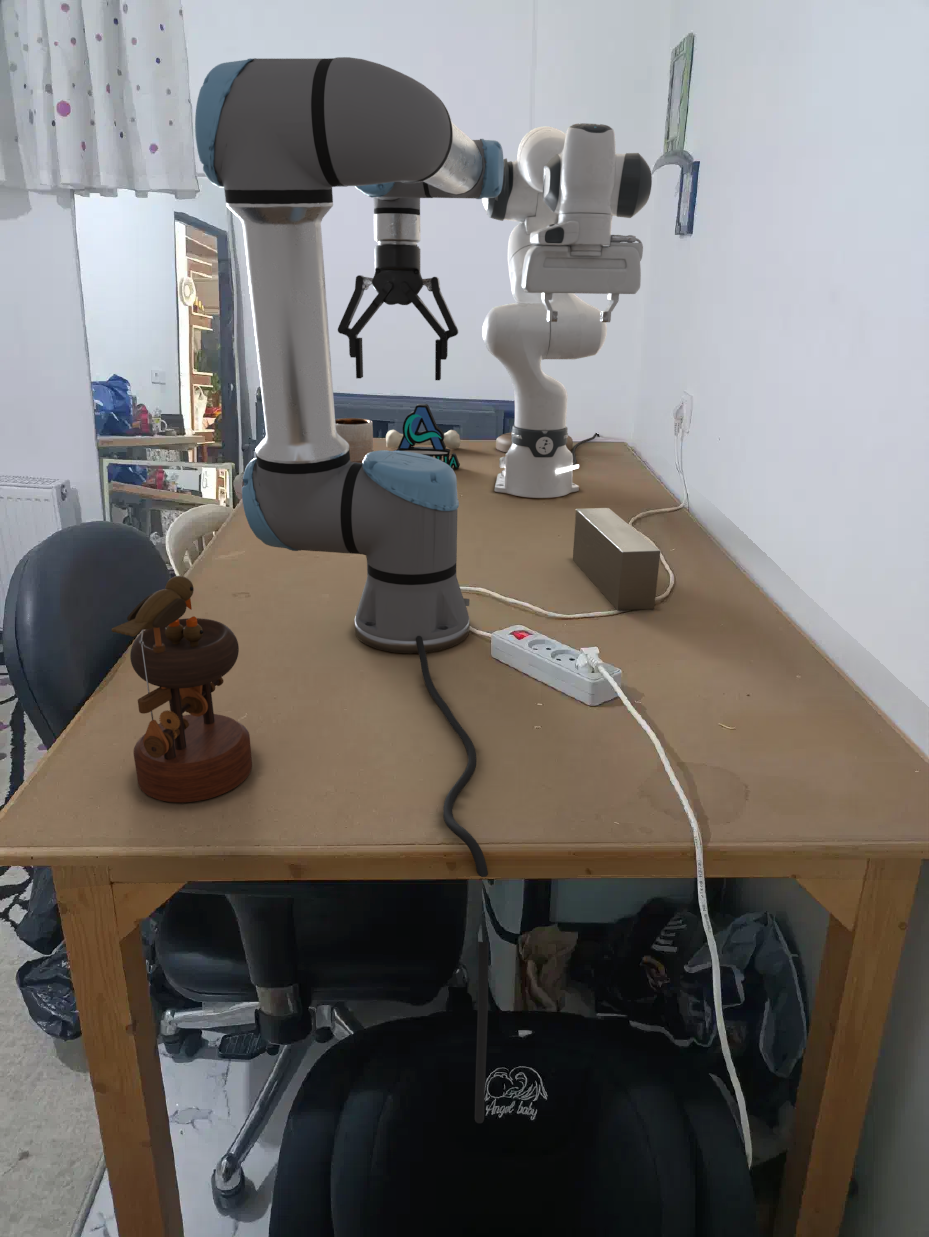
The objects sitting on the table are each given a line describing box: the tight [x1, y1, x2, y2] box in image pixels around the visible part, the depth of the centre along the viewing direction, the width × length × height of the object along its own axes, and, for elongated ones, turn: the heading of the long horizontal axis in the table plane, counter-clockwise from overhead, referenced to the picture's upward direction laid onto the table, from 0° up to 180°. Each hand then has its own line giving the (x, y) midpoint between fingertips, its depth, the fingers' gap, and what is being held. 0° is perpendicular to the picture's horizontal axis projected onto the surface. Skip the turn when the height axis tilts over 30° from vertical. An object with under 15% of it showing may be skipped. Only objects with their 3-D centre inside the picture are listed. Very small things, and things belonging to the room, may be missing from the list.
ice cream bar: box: [495, 431, 574, 453], centre depth 224 cm, size 21×28×4 cm
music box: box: [111, 575, 253, 803], centre depth 78 cm, size 15×11×20 cm
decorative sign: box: [395, 403, 461, 470], centre depth 205 cm, size 19×2×15 cm, turn 86°
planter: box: [335, 417, 375, 463], centre depth 212 cm, size 11×11×10 cm
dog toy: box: [385, 429, 462, 450], centre depth 228 cm, size 20×6×5 cm, turn 99°
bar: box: [572, 507, 661, 611], centre depth 131 cm, size 23×6×9 cm, turn 9°
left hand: (398, 379), depth 146 cm, fingers open, 13 cm apart
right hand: (578, 322), depth 146 cm, fingers open, 8 cm apart
